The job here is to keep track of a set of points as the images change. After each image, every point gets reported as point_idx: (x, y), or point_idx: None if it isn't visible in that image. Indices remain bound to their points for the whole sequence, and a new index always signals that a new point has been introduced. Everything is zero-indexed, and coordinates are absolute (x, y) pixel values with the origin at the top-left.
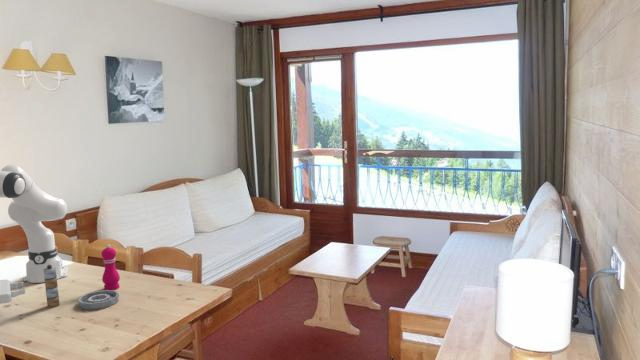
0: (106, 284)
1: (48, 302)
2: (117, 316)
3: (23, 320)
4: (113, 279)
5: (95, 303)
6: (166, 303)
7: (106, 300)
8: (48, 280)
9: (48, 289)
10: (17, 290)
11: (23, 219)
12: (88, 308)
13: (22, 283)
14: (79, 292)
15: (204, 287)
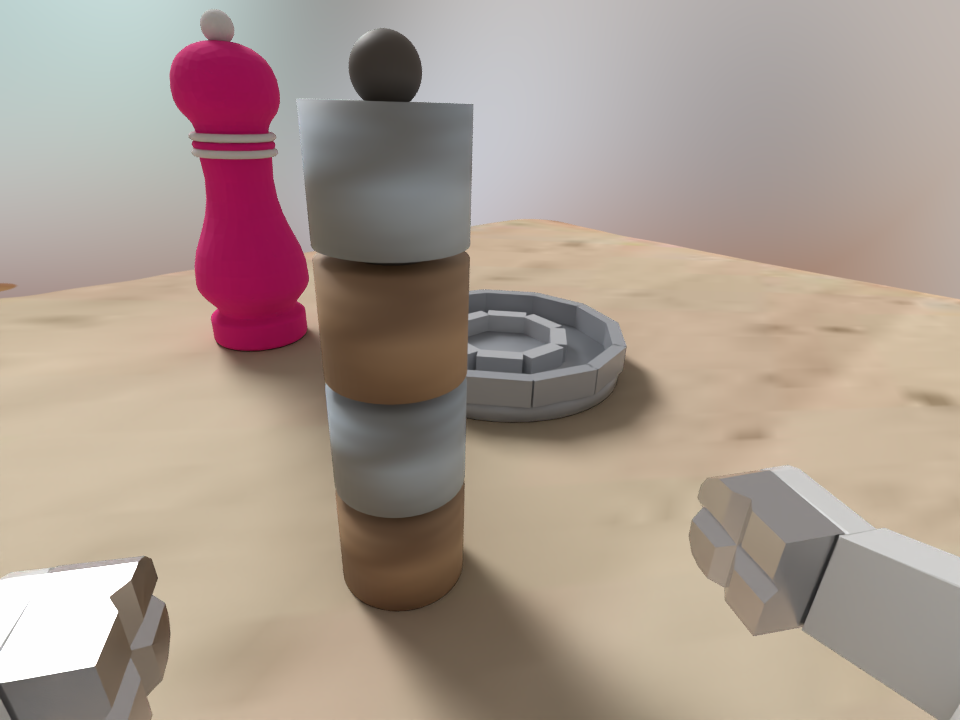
0: (276, 309)
1: (448, 546)
2: (730, 327)
3: None
4: (306, 264)
5: (621, 335)
6: (602, 264)
7: (589, 311)
8: (465, 272)
9: (459, 395)
10: (928, 557)
11: None
12: (614, 382)
13: (143, 574)
14: (168, 434)
15: (481, 229)
